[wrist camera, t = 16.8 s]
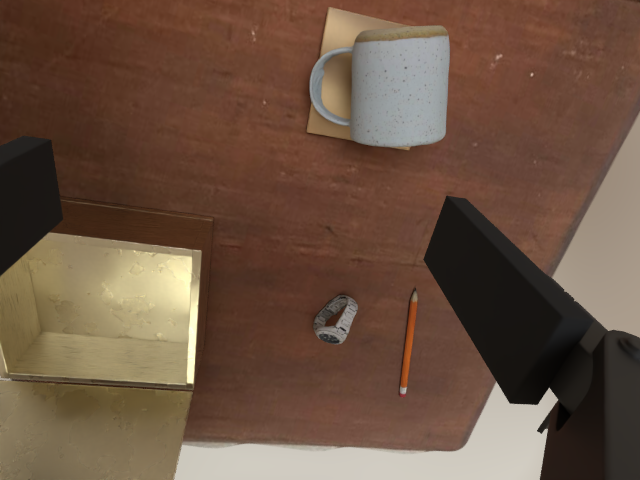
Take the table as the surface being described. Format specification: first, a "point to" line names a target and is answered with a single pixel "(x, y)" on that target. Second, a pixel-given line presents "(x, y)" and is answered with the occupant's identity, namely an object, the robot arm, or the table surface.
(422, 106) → the ceramic mug
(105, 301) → the open metal box
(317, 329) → the wristwatch
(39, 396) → the box lid
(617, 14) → the table surface
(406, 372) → the pencil
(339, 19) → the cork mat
